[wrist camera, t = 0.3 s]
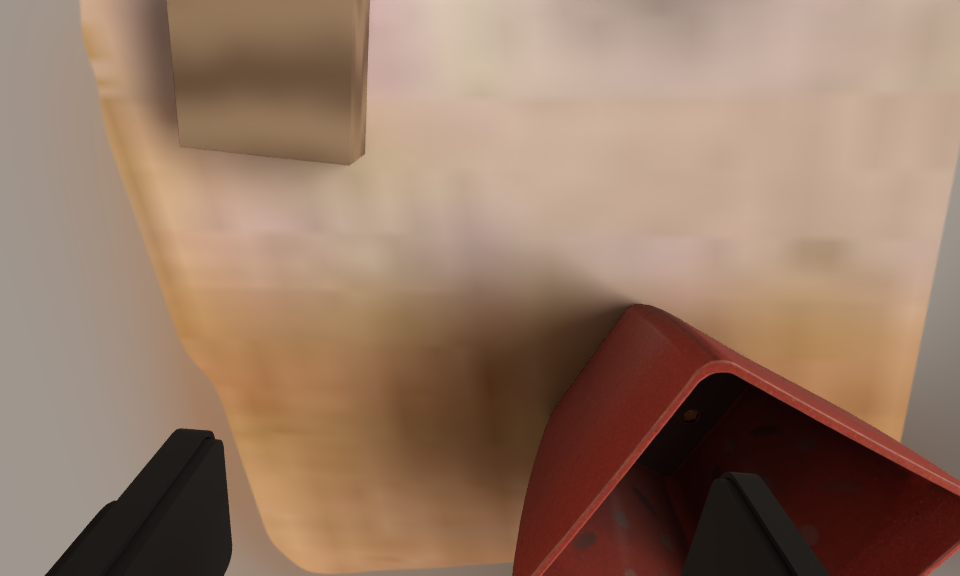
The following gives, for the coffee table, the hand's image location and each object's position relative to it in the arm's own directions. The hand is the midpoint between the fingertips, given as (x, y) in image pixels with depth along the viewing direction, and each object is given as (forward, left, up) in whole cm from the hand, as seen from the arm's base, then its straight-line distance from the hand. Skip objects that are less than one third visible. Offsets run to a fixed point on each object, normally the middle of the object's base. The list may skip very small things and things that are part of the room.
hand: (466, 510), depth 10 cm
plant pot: (+15, +16, -30) cm, 38 cm away
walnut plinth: (-7, -13, -30) cm, 33 cm away
